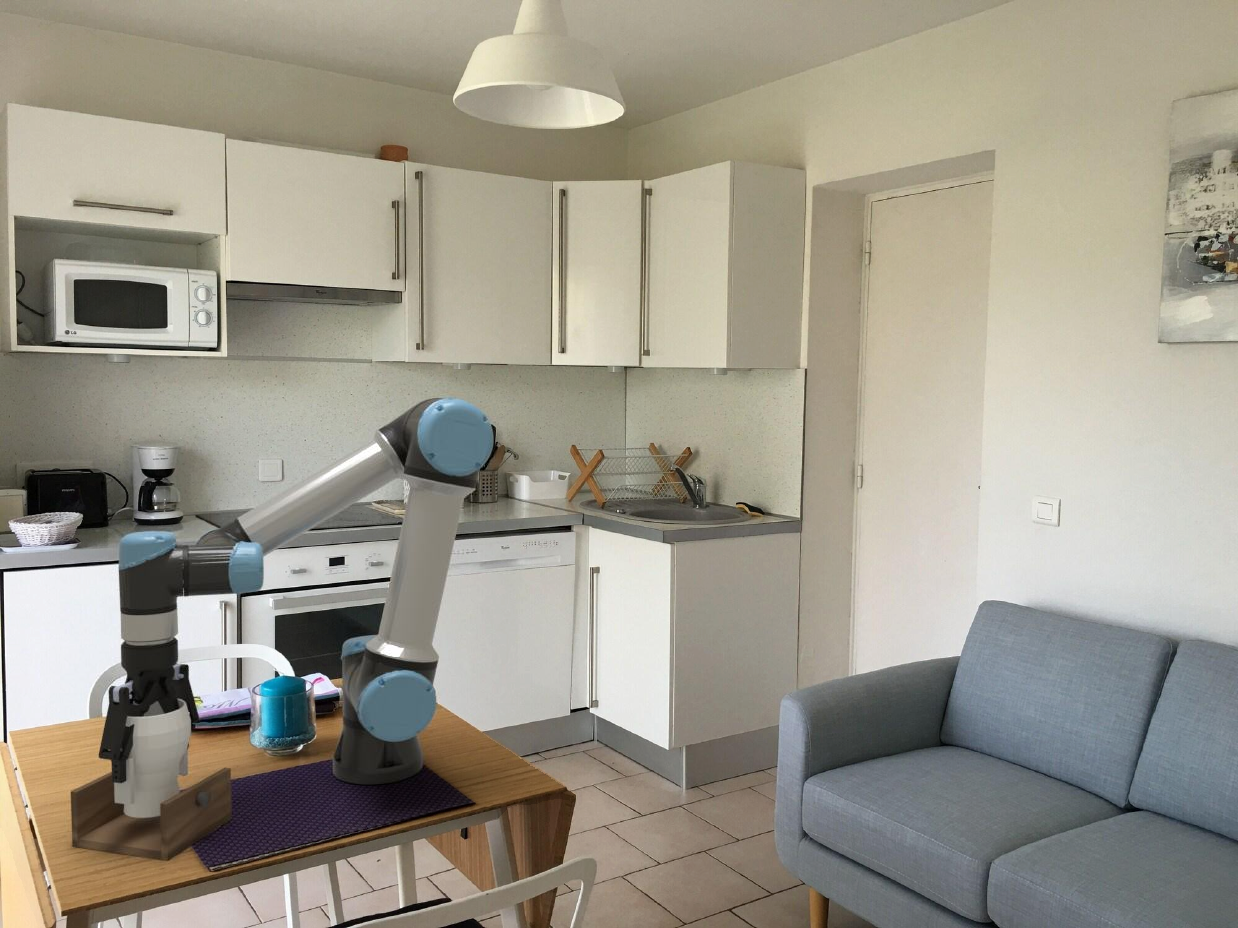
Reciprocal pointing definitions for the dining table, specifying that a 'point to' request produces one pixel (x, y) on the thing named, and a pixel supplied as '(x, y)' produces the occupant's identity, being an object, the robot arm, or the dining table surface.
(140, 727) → the cup
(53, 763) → the dining table surface
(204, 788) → the holder
